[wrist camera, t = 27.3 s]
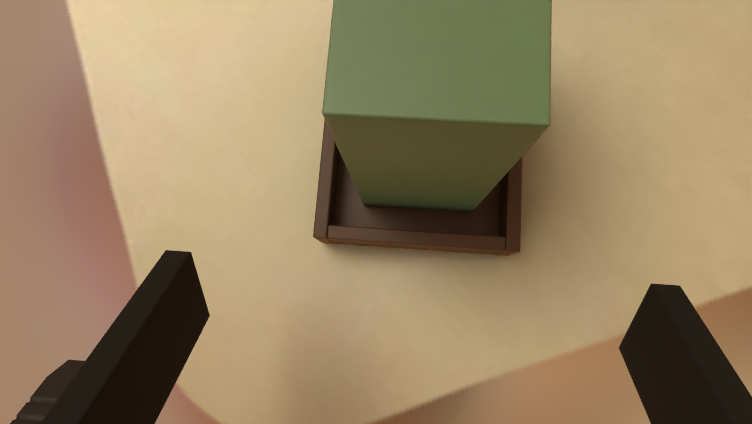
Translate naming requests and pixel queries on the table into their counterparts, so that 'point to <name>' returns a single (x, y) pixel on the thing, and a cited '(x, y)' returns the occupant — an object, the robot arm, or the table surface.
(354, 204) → the tray
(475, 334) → the table surface
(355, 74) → the green box
